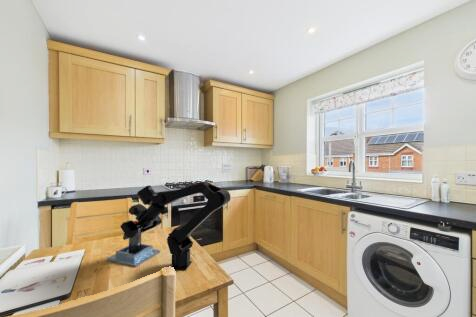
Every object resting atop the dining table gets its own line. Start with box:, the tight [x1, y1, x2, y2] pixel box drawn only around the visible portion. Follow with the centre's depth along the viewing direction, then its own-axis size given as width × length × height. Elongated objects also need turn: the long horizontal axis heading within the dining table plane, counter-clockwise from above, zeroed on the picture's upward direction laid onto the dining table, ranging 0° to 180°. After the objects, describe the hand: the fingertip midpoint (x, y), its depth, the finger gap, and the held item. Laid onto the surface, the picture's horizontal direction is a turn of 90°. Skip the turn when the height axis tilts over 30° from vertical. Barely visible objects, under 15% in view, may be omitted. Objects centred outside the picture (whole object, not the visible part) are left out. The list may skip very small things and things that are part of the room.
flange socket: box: [106, 243, 161, 268], centre depth 92 cm, size 16×14×4 cm
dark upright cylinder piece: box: [128, 220, 142, 254], centre depth 92 cm, size 6×6×14 cm
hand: (132, 235), depth 93 cm, fingers open, 9 cm apart
